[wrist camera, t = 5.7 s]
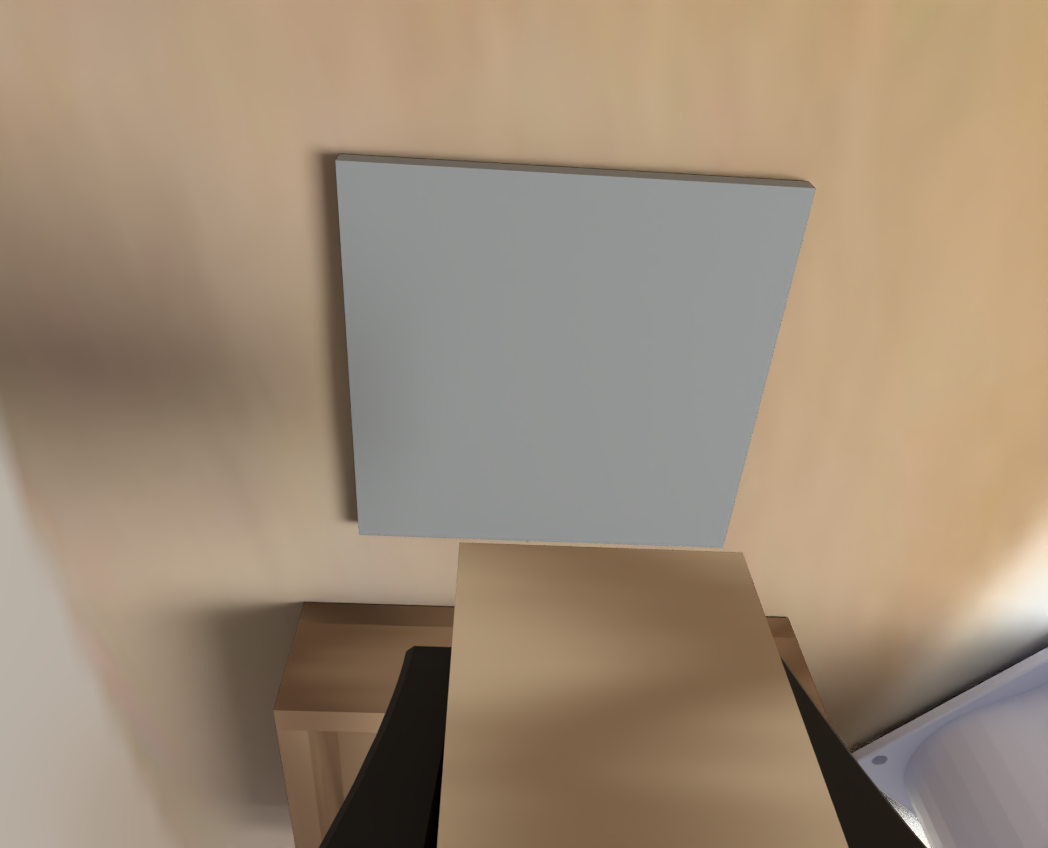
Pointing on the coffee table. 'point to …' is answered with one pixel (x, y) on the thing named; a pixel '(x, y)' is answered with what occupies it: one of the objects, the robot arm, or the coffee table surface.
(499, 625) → the maple block
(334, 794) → the walnut crate
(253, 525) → the coffee table surface
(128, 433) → the coffee table surface
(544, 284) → the slate mat
